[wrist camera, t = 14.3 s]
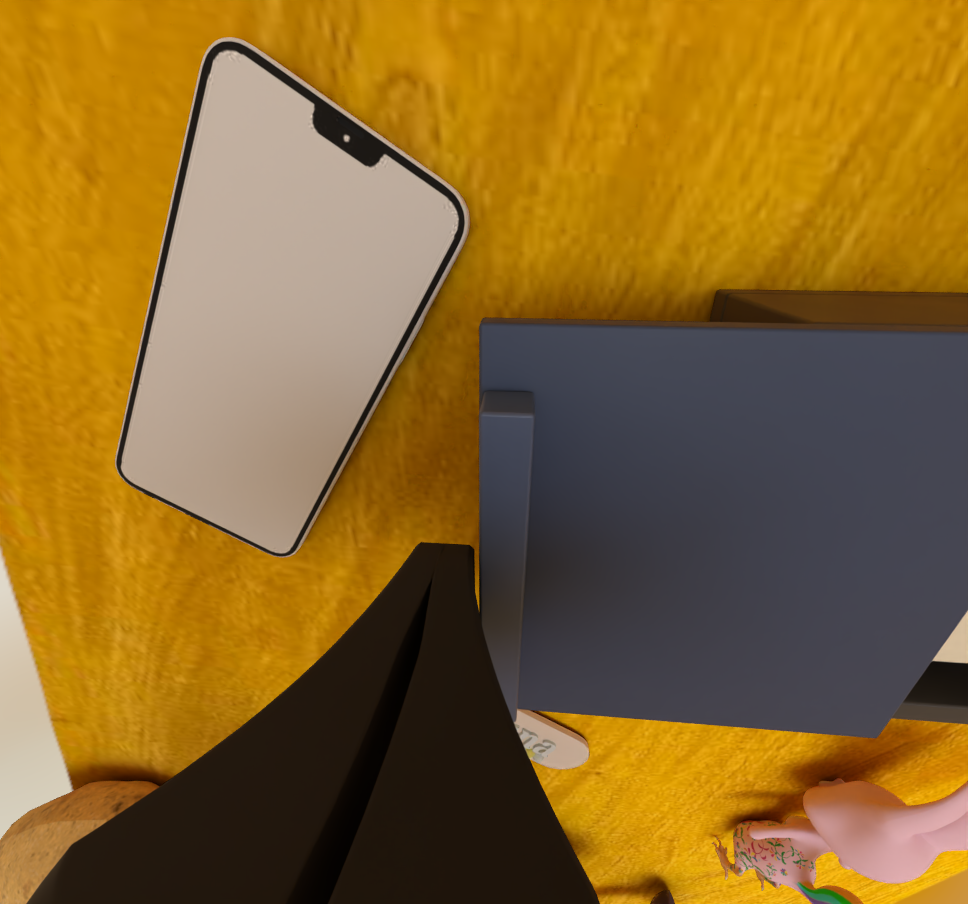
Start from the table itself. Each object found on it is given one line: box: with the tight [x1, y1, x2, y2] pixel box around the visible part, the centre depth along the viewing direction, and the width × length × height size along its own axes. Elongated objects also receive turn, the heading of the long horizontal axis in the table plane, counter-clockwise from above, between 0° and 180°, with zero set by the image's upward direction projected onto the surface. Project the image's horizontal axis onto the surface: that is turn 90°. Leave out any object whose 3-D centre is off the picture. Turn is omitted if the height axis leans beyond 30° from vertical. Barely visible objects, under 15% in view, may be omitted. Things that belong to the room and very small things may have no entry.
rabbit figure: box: [712, 778, 968, 904], centre depth 21 cm, size 6×6×15 cm
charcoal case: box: [710, 289, 968, 724], centre depth 13 cm, size 12×12×5 cm
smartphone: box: [115, 37, 470, 557], centre depth 14 cm, size 7×1×15 cm
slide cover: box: [479, 318, 968, 738], centre depth 10 cm, size 12×12×2 cm
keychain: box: [514, 709, 589, 769], centre depth 22 cm, size 10×1×3 cm
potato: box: [0, 781, 160, 904], centre depth 27 cm, size 7×11×6 cm, turn 108°
